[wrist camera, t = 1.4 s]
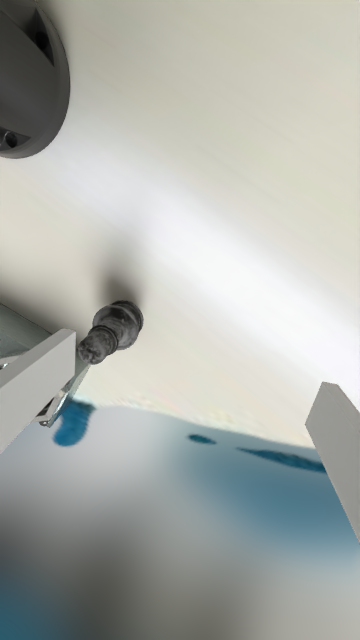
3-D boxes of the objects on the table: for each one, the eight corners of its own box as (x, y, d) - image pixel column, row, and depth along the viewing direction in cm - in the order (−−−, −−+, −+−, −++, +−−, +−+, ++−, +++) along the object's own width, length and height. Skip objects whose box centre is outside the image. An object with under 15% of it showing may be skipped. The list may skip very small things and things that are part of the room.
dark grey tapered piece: (113, 343, 38) (69, 392, 26) (97, 305, 36) (43, 338, 25) (151, 333, 37) (123, 379, 25) (136, 293, 35) (98, 323, 24)
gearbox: (-23, 353, 41) (-68, 376, 35) (-5, 300, 38) (-51, 315, 31) (67, 405, 42) (40, 438, 36) (93, 359, 39) (69, 385, 32)
